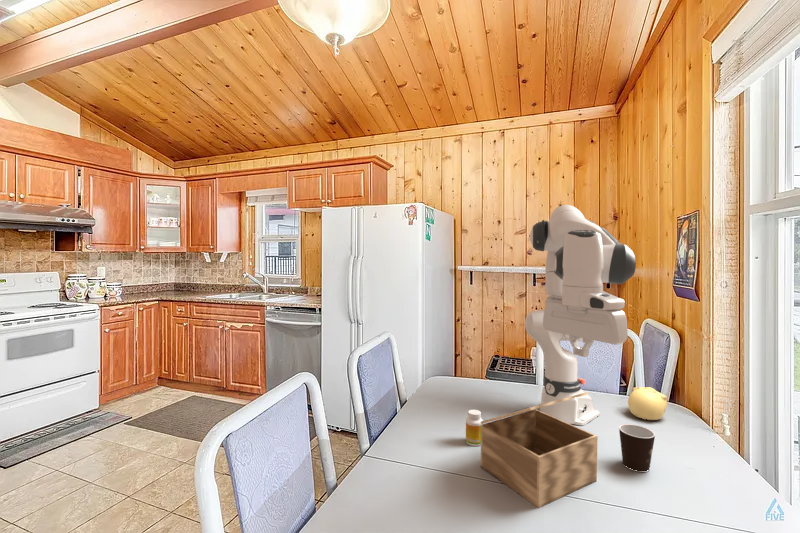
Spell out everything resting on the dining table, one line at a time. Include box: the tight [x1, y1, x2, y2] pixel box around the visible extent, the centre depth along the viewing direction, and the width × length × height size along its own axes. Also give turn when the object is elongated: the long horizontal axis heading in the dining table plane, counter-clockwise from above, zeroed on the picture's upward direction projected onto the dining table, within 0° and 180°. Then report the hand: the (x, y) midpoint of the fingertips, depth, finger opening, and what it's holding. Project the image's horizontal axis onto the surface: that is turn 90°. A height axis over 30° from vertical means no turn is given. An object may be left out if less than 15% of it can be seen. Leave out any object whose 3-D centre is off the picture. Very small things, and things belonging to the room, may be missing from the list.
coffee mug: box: [618, 423, 656, 471], centre depth 110 cm, size 12×9×10 cm
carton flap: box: [481, 391, 590, 424], centre depth 106 cm, size 22×20×1 cm
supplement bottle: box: [465, 409, 484, 447], centre depth 122 cm, size 5×5×10 cm
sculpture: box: [627, 386, 668, 421], centre depth 142 cm, size 12×12×11 cm
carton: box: [480, 409, 599, 509], centre depth 105 cm, size 22×20×12 cm
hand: (580, 355), depth 93 cm, fingers closed
